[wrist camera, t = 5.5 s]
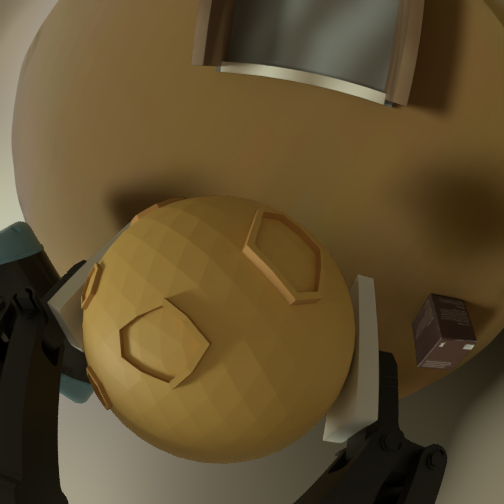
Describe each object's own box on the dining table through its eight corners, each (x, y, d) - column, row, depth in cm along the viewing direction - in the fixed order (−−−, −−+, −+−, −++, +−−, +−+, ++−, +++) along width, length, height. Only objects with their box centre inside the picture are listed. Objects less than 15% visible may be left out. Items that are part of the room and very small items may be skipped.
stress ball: (350, 295, 15) (468, 258, 5) (260, 438, 13) (262, 563, 3) (202, 209, 16) (145, 87, 7) (117, 346, 14) (-14, 360, 5)
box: (410, 323, 32) (415, 367, 27) (429, 291, 29) (440, 337, 23) (444, 329, 31) (452, 371, 25) (464, 299, 28) (478, 342, 22)
